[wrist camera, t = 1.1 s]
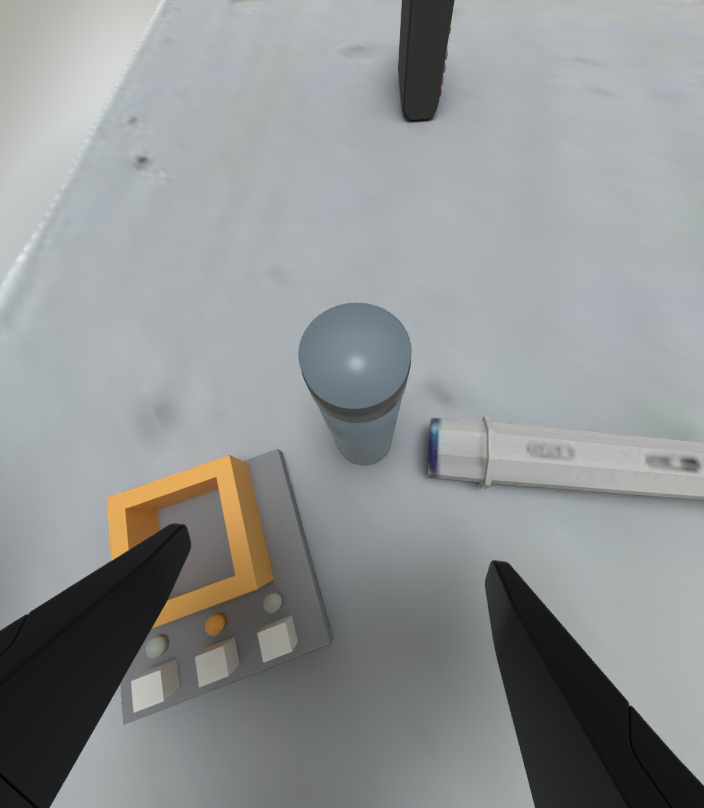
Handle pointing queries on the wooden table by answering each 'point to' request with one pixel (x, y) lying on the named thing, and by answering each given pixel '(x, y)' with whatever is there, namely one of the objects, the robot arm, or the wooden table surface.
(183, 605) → the panel
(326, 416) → the plug
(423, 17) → the black upright block
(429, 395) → the wooden table surface
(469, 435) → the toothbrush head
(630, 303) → the wooden table surface
